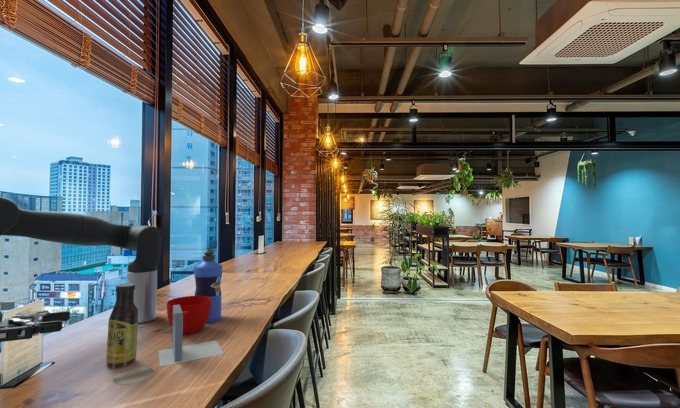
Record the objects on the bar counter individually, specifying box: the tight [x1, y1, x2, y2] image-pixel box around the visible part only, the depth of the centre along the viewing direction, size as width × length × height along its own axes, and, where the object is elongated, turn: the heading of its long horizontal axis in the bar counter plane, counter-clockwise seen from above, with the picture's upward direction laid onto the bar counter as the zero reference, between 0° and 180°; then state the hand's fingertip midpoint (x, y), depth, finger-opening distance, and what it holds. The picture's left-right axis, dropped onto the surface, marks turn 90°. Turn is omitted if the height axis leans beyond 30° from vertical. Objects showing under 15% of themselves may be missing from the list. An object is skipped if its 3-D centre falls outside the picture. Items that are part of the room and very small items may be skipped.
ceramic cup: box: [166, 295, 211, 336], centre depth 105 cm, size 13×17×10 cm
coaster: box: [112, 366, 155, 385], centre depth 77 cm, size 8×8×1 cm
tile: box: [171, 305, 183, 362], centre depth 89 cm, size 2×9×12 cm, turn 30°
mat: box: [158, 340, 225, 368], centre depth 90 cm, size 15×11×1 cm
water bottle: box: [194, 248, 223, 324], centre depth 120 cm, size 9×9×25 cm
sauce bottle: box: [105, 282, 139, 370], centre depth 83 cm, size 6×6×20 cm
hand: (66, 320), depth 78 cm, fingers open, 8 cm apart
